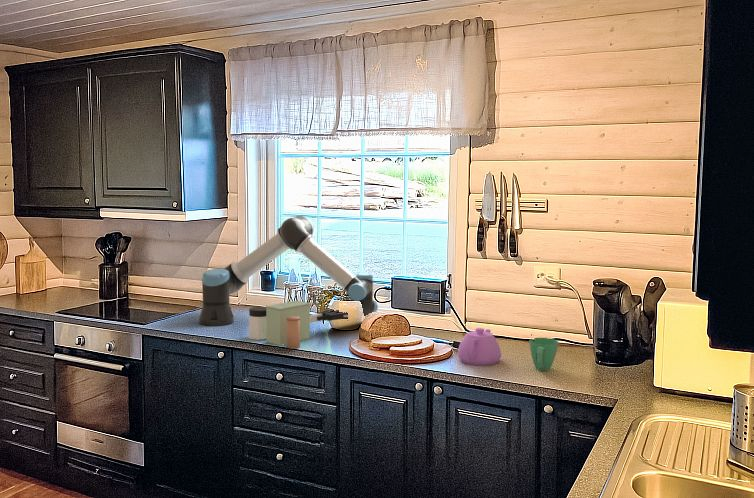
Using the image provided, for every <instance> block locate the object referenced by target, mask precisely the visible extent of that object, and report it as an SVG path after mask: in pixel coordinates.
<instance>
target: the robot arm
mask: <svg viewBox="0 0 754 498" xmlns="http://www.w3.org/2000/svg"><path fill="white" fill-rule="evenodd" d="M314 230H315V229H314V224H313V222H312V220H311V219H310V218H308V217H306V216H302V215H298V216H294V217H290V218H287V219H285V220H284V221H283V222H282V224H281V225H280V226H279V227H278V229H277V232H276V234H275V235H274V236H272V237H271V238H269V239H267V241H265V242H264V243H262V244H261V245H260V246H259V247H257V248H256V249H254V250H253V251H252V252H250V253H248V254H247V255H246V256H245V257H243V258H242V259H241V260H239V261H238V262H237V261H236V262H235V261H232V262H231V263H230V264H228V265H227V266H225V267H224V268H212V269H207V270H206V271H204V272H203V274H202V278H201V279H202V280H201V283H202V285H201V286H202V307H201V311H200V315H199V317H198V323H199V324H200V325H203V326H213V327H214V326H217V327H218V326H227V325H231V324H233V323H234V319H235V318H234V314H233V311H232V308H231V305H230V295H231V294H234V293H236V292H237V293H238V292H239V291H240V289H242V287H243V286H245V285H246V284H248V283H249V281H250V277H252V276H253V275H254V274H256V273H257V272H258V271H260V270H261V269H263V268H265V266H267V265H268V264H270V263H271V262H272V261H274V260H275V259H276V258H278V257H279V256H281V255H282V254H283V253H286V251H288V250H294V251H295V252H296V253H301V254H302V255H303V256H304V257H306V258H307V259H308V260H309V261H310V262H311V263H313V264H314V265H315V266H316V267H317V268H318V269H319V270H321V271H322V272H323V273H324V274H325V275H326V276H328V277H329V278H330V279H331V280H332V281H333V282H335V284H337V285H338V286H339V287H340V288H342V290H344V291H345V292H346V293H347V295H348V297H349V298H350V299H351V300H352V301H353V302H354V301H360V302H361V304H362V308H363V313H364V316H365V317H367V316H366V315H368V314H369V313H372V312H376V313H377V311H378V309H379V307H378V302H377V300H375V299H374V298H373V295H374V294H373V292H374V291H373V290H374V288H373V286H374V280H373V279H374V278H373V276H374V275H373V274H372V273H369V272H361V273H357V274H356V275H354V274H353V273H352V272H351V271H350V270H349V269H348V268H347V267H345V266H344V265H343V264H341V262H339V261H338V260H337V259H336V258H335V257H333V256H332V255H331V254H330V253H329V252H328V251H327V250H325V249H324V248H323V247H322V246H321V245H320V244H318V243H317V242H316V241H315V240H314V239H313V237H312V236H313V235H314ZM334 309H335V308H332V309H330V308H326V309H324V310H320V311H318V312H316V314H315V313H314V314H312V315H311V314H310V324H311V323H316V322H322V321H328V322H329V321H337V320H341V319H348V313H347V312H346V313H345V312H344V313H343V312H339V310H336V311H334Z"/></svg>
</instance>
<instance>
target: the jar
mask: <svg viewBox="0 0 754 498" xmlns="http://www.w3.org/2000/svg"><path fill="white" fill-rule="evenodd" d="M248 311H249V312H248V313H249V314H248V315H249V316H248V326H249V328H248V329H249V330H248V331H249V332H248V334H249V336H248V337H249V340H255V341H261V340H267V322H266V306H254V307H253V306H252V307H250V308H249V309H248Z"/></svg>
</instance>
